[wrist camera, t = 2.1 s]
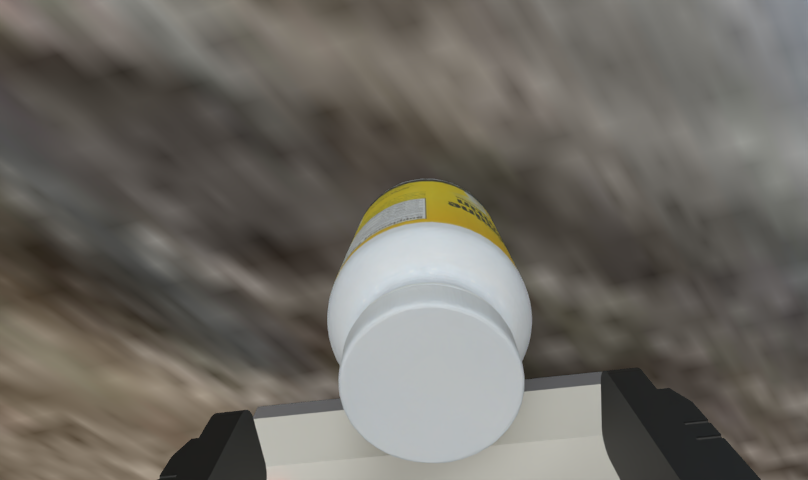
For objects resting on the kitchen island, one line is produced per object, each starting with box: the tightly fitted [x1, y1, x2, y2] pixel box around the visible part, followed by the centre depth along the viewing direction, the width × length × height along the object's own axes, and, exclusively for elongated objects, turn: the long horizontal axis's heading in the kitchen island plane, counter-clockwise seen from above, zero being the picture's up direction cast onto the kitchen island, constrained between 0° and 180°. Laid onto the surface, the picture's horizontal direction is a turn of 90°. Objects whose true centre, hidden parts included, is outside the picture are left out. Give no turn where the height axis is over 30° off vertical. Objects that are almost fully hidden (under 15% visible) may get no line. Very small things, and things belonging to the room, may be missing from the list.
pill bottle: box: [327, 179, 532, 463], centre depth 18 cm, size 6×6×12 cm
